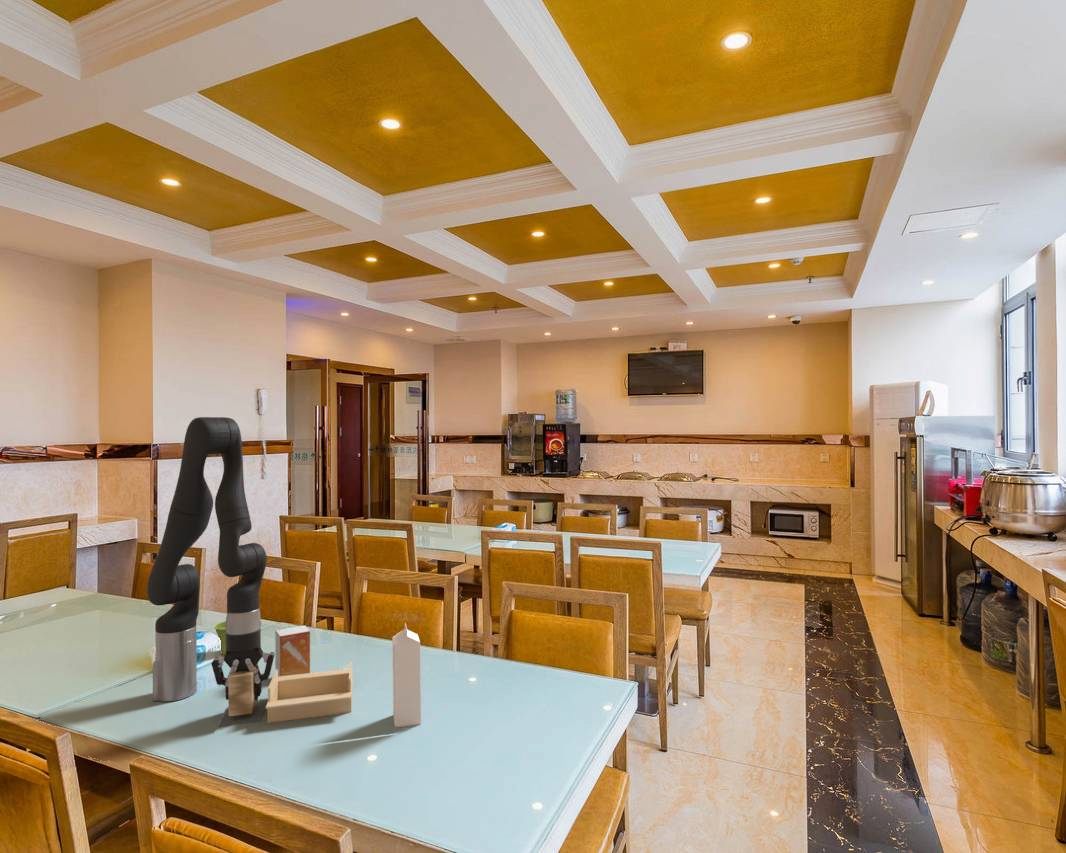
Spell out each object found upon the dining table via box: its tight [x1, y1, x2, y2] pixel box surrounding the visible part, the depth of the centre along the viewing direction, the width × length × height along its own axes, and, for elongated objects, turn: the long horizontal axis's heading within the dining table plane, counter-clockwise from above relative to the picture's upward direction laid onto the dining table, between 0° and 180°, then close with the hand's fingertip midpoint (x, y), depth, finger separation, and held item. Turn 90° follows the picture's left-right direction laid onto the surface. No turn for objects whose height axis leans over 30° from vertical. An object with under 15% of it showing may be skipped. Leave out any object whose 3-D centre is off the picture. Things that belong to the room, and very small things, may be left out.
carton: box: [265, 660, 354, 724], centre depth 149 cm, size 19×18×8 cm
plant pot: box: [213, 620, 226, 656], centre depth 188 cm, size 9×9×9 cm
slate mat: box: [217, 700, 268, 728], centre depth 145 cm, size 9×11×1 cm
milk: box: [391, 622, 422, 728], centre depth 141 cm, size 6×6×22 cm
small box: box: [274, 624, 311, 677], centre depth 167 cm, size 8×6×13 cm
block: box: [227, 662, 259, 716], centre depth 145 cm, size 5×8×9 cm, turn 15°
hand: (243, 698), depth 145 cm, fingers closed on block, 5 cm apart
